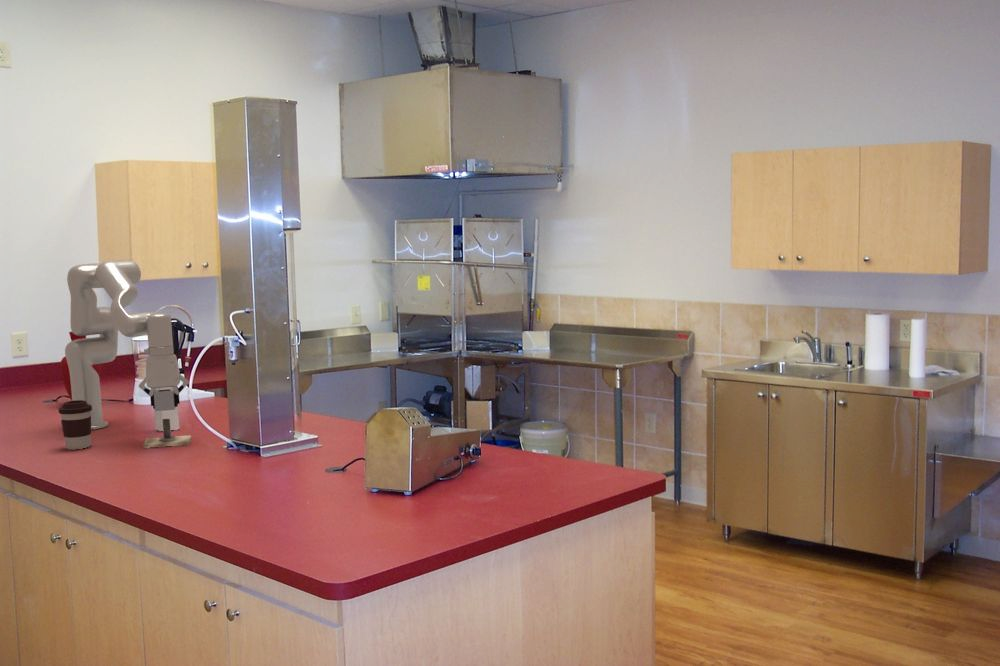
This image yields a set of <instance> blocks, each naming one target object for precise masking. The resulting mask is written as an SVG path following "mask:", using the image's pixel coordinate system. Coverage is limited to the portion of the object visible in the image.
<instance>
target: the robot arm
mask: <svg viewBox="0 0 1000 666" xmlns="http://www.w3.org/2000/svg"><path fill="white" fill-rule="evenodd" d="M141 278H142V271H141V268H140V266H139V265H138V264H137V262H135V261H133V260H131V259H123V260H120V259H119V260H107V261H104V262H101V263H99V262H98V263H85V264H83V263H82V264H78V265H77V264H76V265H74V266H72V267H71V268H70V269H69V270H68V272H67V277H66V282H67V287H68V291H69V295H70V329H71V332H73V333H74V334H75V335H78V336H86V338H84V339H77V340H73V341H70V342H68V343H67V344H66V345H65V348H64V355H65V356H66V359H67V363H68V367H69V372H70V380H71V391H72V401H75V400H84V401H86V402H87V404H89V405H92V410H91V411H90V416H91V431H93V430H98V429H103V428H106V427H108V425H109V424H108V423H109V422H108V421H106V420H104V419H103V418H104V417H103V407H102V394H101V393H102V392H101V382H100V381H101V378H100V379H99V375H98V374H97V372H96V371H95V370H94V369H93V367H92V365H94V364H106V363H110V362H113V361H114V360H116V357H117V355H118V343H119V342H118V341H119V340H118V339H119V337H118V336H119V332H120V333H121V335H123V336H125V337H128V338H135V337H136V338H137V337H143V336H147V344H148V345H147V346H148V347H147V348H145V349H143V354H147V355H148V356H147V357H146V360H145V361H146V362H145V378H144V379H142V381H141V382H140V383H139V384H138V387H139V388H140V390H141V391H143V392H144V393H145V394H147V395H148V396H149V398H150V406H151V407H153V409H155V404H154V391H155V388H163V387H172V388H173V390H174V392H175V394H174V401H175V407H177V406H178V407H179V405H180V403H181V402H180V393H181V392H182V391H183V390H184V388H186V387H187V385H188V384H189V383H190V381H189V380H188V379H186V377H185V376H183V375H182V374H181V373H180V366H179V362H178V358H177V354H175V353H174V352H175V351H174V341H173V340H174V339H173V326H172V318H171V314H170V313H168V312H167V313H165V312H158V311H145V312H144V311H143V312H135V313H133V312H132V313H127V311H126V310H125V308H126V307H128V306H130V305H131V304H133V302H134V301H135V300H136V299H137V297H138V296H139V295H138V293H139V292H138V291H139V290H138V288H137V287H136V286H135V285H137V284H138V283H139V282H140V281H141ZM94 289H104V291H105V292H106V293H107V295H108V296H109V297H110V299H111V304H110V307H109V306H99V307H98V296H97V294H96V292H95V291H94ZM93 335H99V336H96V337H87V336H93ZM181 382H182V384H181V385H180V386H179V384H180V383H181ZM145 384H146V385H145ZM178 386H179V387H178ZM61 419H62V417H60V420H61ZM60 424H62V422H61V421H60ZM92 429H93V430H92Z"/></svg>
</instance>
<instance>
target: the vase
mask: <svg viewBox="0 0 1000 666" xmlns="http://www.w3.org/2000/svg"><path fill="white" fill-rule="evenodd" d="M68 334H69V337H70V340H71V341H73V340H77V339H84V338H87V336H78V335H75V334H74V333H73V332H72V331H69V332H68ZM71 341H70V342H71ZM101 364H102V363H100V364H94V365H92V367H93V369H94V370H95V371H96V372H97V374H98V375H99V379H100V380H101V370H102V369H101V366H102V365H101ZM60 373H61V377H62V382H63V384H64V388H65V389H66V393H67V394H68V396H69V399H70V401H72V391H71V380H70V372H69V367H68V363H67V359H66V355H65V356H64V357H62V358H61V361H60Z"/></svg>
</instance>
